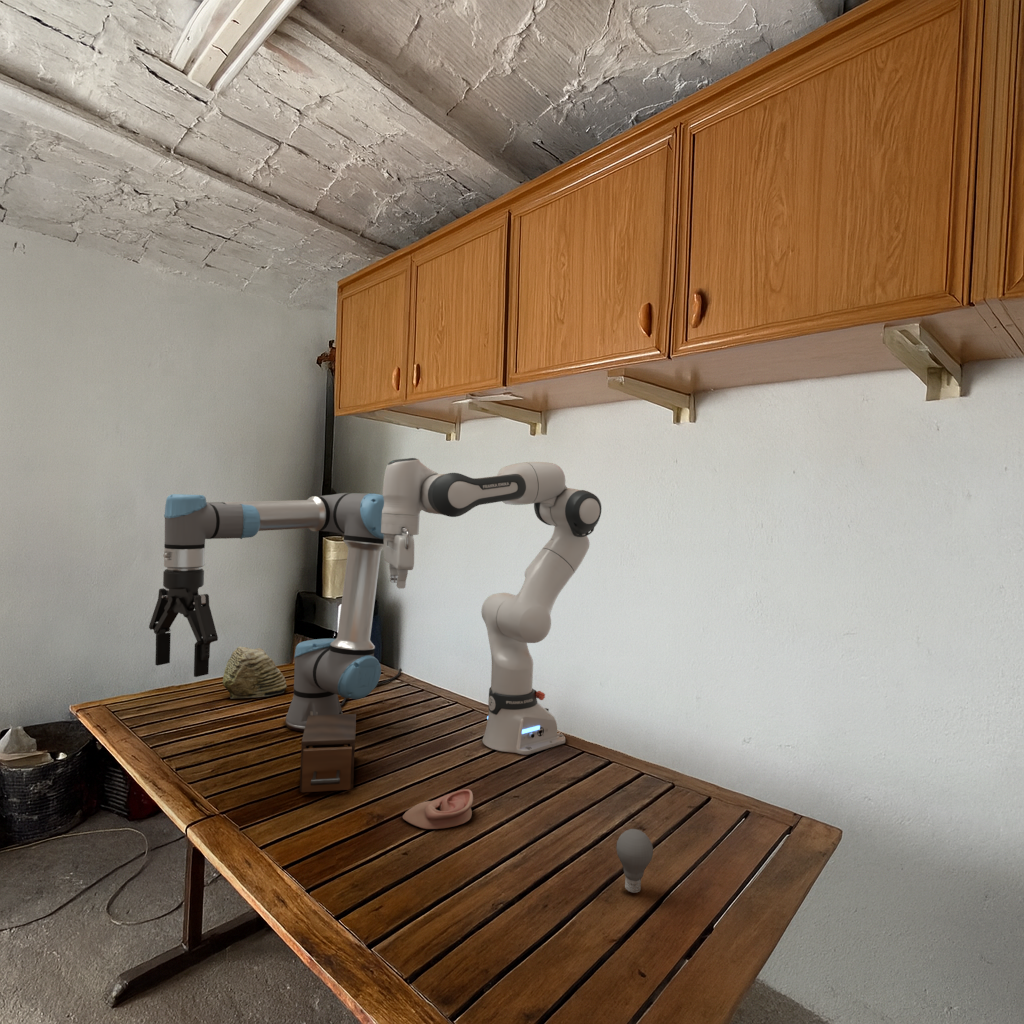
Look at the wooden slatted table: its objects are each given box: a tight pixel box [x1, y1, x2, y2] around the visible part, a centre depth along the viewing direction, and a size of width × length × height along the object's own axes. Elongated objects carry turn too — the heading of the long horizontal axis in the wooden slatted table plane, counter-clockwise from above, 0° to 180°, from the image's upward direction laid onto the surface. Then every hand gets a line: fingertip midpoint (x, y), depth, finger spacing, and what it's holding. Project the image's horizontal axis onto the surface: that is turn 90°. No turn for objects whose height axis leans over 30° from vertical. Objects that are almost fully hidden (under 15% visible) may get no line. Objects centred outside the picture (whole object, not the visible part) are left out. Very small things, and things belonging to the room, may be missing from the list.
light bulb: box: [615, 828, 654, 894], centre depth 106 cm, size 6×6×10 cm
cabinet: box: [299, 713, 357, 793], centre depth 145 cm, size 16×11×11 cm
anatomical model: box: [402, 788, 474, 830], centre depth 128 cm, size 13×4×12 cm
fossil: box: [222, 646, 288, 699], centre depth 198 cm, size 9×18×15 cm, turn 132°
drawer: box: [301, 744, 352, 793], centre depth 139 cm, size 20×10×9 cm, turn 13°
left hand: (181, 669), depth 132 cm, fingers open, 13 cm apart
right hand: (397, 585), depth 149 cm, fingers open, 8 cm apart
